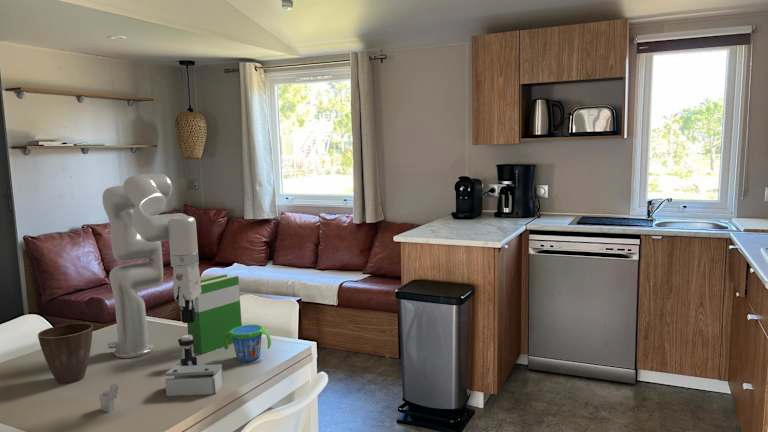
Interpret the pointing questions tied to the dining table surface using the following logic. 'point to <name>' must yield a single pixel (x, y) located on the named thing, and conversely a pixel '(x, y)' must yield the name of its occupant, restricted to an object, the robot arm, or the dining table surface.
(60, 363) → the plant pot
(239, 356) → the snack cup
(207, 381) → the open box
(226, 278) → the hardback book
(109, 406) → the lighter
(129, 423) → the dining table surface
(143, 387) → the dining table surface
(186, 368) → the cover
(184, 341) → the push button
